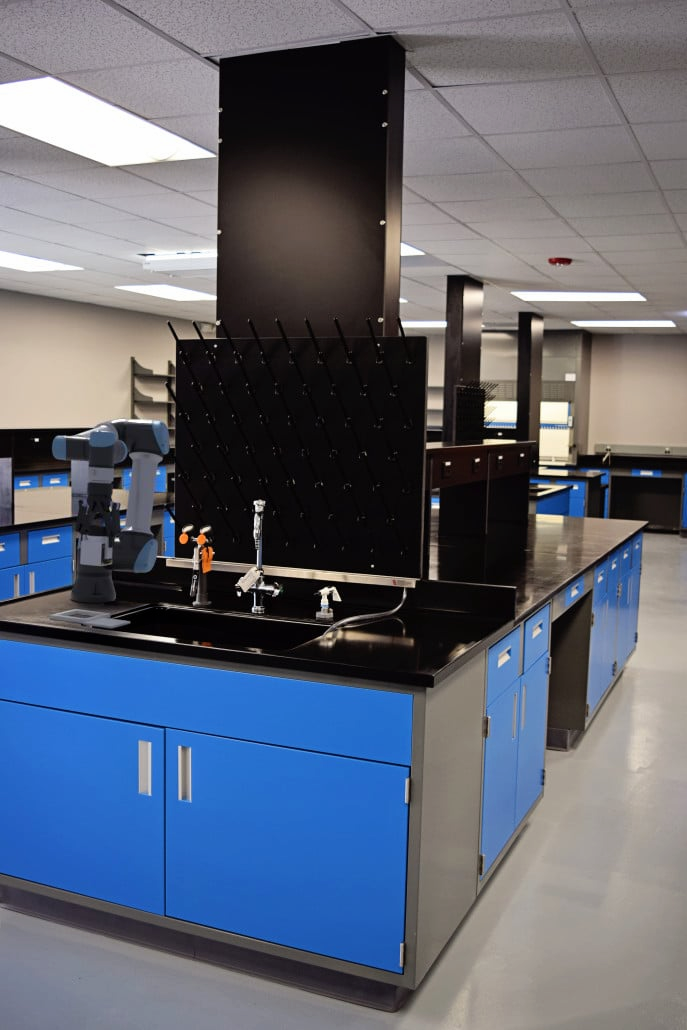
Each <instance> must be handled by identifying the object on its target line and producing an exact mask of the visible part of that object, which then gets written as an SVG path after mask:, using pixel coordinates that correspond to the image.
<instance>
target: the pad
mask: <svg viewBox="0 0 687 1030" xmlns="http://www.w3.org/2000/svg"><path fill="white" fill-rule="evenodd" d="M82 624H83V625H84V626H85V625H86V626H89V627H90V626H92V627H98V628H105V629H114V628H115V629H116V628H118V627H122V626H126V625H130V624H131V621H130V620H122V619H115V618H99V619H95V620H91V621H87V622H83V623H82Z"/></svg>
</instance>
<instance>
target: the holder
mask: <svg viewBox="0 0 687 1030" xmlns="http://www.w3.org/2000/svg"><path fill="white" fill-rule="evenodd" d="M73 615H81V616H82V615H83V616H89V617H86V618H83V617H76V616H73ZM111 616H112V614H111V612H110V613H108V612H102V611H93V610H85V609H77V608H73V609H70V610H65V611H62V612H56V613H53V614H50V615H49V619H50V620H56V621H63V622H64V621H65V622H69V623H70V622H71V623H79V624H83V622H87V621H91V620H95V619H99V618H109V619H111Z"/></svg>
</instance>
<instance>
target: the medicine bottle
mask: <svg viewBox="0 0 687 1030" xmlns="http://www.w3.org/2000/svg"><path fill="white" fill-rule="evenodd" d="M107 536H108V534H107V531H106V527H105V524H91V525H90V526H88V533H87V538H88V540H84V541H81V556H80V564H83V565H94V566H104V565H110V564H112V558H110V559H104V558H105V537H107ZM112 556H113V548H112Z"/></svg>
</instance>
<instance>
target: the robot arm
mask: <svg viewBox="0 0 687 1030" xmlns="http://www.w3.org/2000/svg"><path fill="white" fill-rule="evenodd" d="M165 441H167V442H165ZM169 445H170V433H169V429H168V426H167V424H166V423H165V422H164V421H162V420H154V419H136V418H135V419H134V418H127V417H126V418H116V419H112V420H107V421H103V422H100V423H98V424H96V425H95V426H94V427H93V428H92V429H89V430H86V431H83V432H80V433H77V434H75V435H70V436H69V435H56V436H55V437H54V439H53V441H52V446H51V451H52V455H53V457H54V458H55V459H56V460H63V461H74V462H75V461H77V462H79V461H80V462H88V467H87V469H88V470H87V480H88V482H87V485H86V486H87V489H86V493H87V498H86V499H79V500H78V501H77V502H78V503H77V504H78V510H77V511H78V512H77V518H76V522H75V523H76V524H75V528H74V530H75V532H76V533H79V534H80V536H79V538H78V543H77V548H76V549H77V556H76V557H77V558H76V559H77V561H76V578H75V581H74V584H73V586H72V588H71V592H70V600H72V601H74V602H79V603H80V602H81V603H90V604H91V603H94V604H95V603H97V604H98V603H99V604H100V603H111V602H114V601H116V600H115V599H116V595H117V594H116V590H115V586H114V583H113V579H112V571H113V572H114V571H115V572H116V571H117V572H129V573H130V572H131V573H135V574H138V573H148V572H150V571H151V570H152V569H153V567H154V566H155V563H156V560H157V556H158V551H159V550H158V549H159V548H158V547H159V543H158V540H156V538H154V537H155V535H154V533H153V532H152V531H151V522H152V516H153V507H154V499H155V496H154V495H155V489H156V480H157V474H158V472H157V471H158V466H159V465H158V464H159V463H160V462H162V461H163V459H164V455H167V454H168V453H169V452H170V447H169ZM170 446H171V445H170ZM128 453H129V454H128ZM127 455H128V456H129V458H131V460H132V468H131V472H130V473H131V476H130V482H129V488H128V489H129V490H128V500H127V507H126V516H125V523H124V527H123V528H122V527H121V515H120V513H121V512H120V509H121V503H120V502H116V501H113V499H112V496H113V491H114V484H113V483H112V482H114V473H115V472H114V471H115V469H114V468H115V464H118V463H121V462H123V461H124V460H126V458H127V457H128V456H127ZM110 509H111V510H110ZM98 513H99V514H100V516H101V517H102V519H103V523H104V524H103V525H105V527H106V531H107V534H108V536H107V537H105V558H104V559H110V558H112V564H110V565H104V566H94V565H83V564H80V556H81V541H84V540H88V538H87V533H88V526H90V525H93V521H94V519H95V517H96V515H97V514H98ZM117 536H118V537H117ZM112 548H113V556H112ZM110 601H111V602H110Z"/></svg>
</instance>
